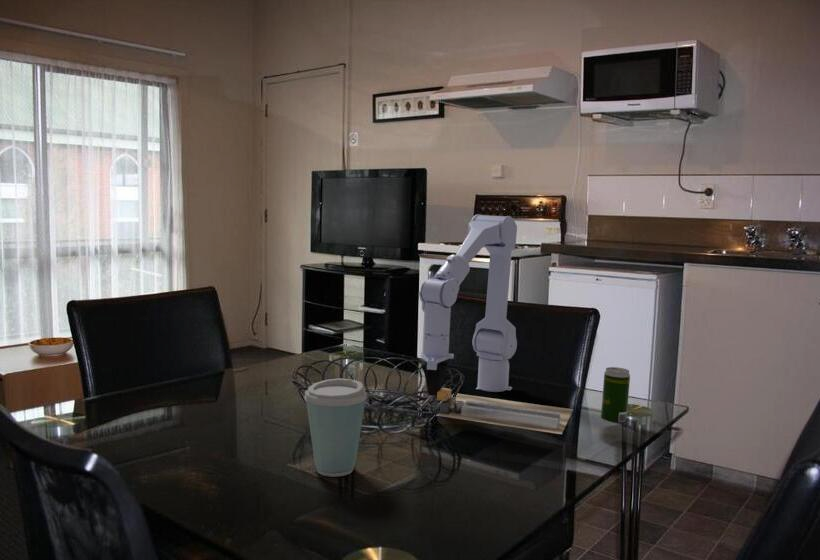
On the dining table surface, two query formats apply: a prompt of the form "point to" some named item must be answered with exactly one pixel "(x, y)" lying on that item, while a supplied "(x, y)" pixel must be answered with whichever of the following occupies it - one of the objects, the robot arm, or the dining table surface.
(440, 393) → the block
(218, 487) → the dining table surface
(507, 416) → the tongs frame
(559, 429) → the board
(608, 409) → the beer can
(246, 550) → the dining table surface
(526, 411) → the bar
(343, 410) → the disposable coffee cup
